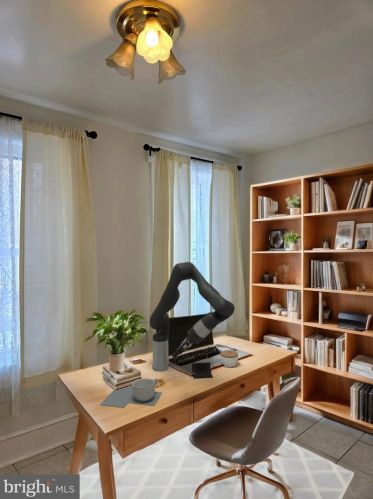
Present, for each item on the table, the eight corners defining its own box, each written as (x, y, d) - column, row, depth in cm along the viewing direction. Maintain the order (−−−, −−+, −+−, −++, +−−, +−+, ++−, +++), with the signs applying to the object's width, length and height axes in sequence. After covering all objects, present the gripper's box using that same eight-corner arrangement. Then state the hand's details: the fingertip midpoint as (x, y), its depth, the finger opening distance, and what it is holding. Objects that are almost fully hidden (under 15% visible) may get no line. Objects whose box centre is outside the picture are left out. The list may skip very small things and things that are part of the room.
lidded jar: (216, 364, 195) (216, 349, 195) (229, 360, 201) (229, 346, 201) (229, 370, 186) (229, 354, 186) (241, 366, 193) (241, 350, 193)
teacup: (139, 406, 145) (138, 389, 145) (128, 397, 154) (128, 380, 154) (164, 397, 154) (164, 381, 153) (153, 389, 162) (153, 373, 162)
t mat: (119, 384, 169) (119, 383, 169) (164, 388, 163) (164, 388, 163) (99, 404, 147) (99, 404, 147) (151, 411, 142) (151, 410, 142)
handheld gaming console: (195, 377, 173) (194, 359, 179) (191, 381, 179) (190, 363, 185) (214, 378, 176) (212, 360, 182) (210, 381, 182) (208, 364, 188)
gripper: (196, 321, 155) (172, 344, 158) (190, 329, 141) (164, 354, 144) (207, 333, 154) (183, 355, 157) (202, 342, 140) (176, 366, 143)
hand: (174, 354), depth 150 cm, fingers open, 4 cm apart
